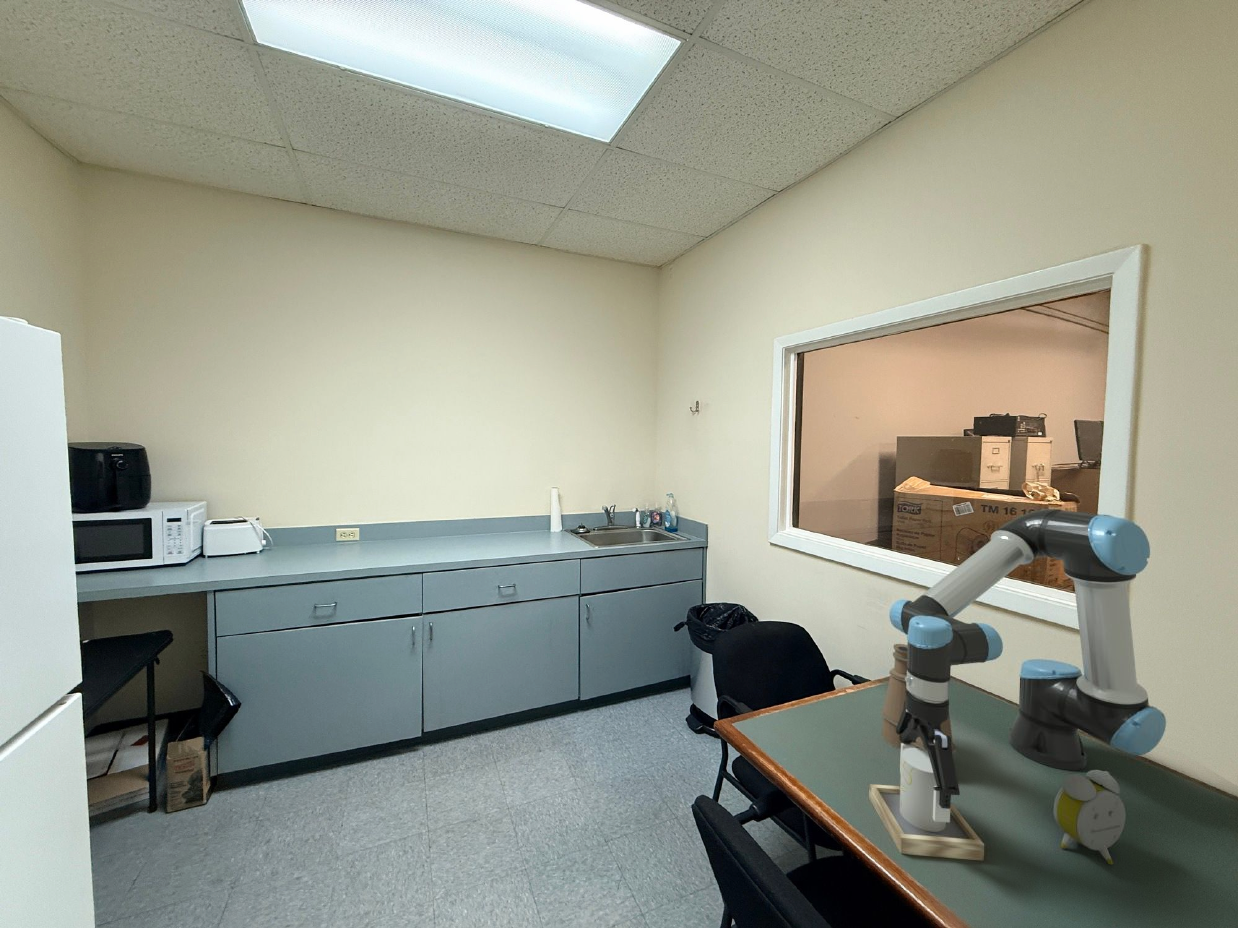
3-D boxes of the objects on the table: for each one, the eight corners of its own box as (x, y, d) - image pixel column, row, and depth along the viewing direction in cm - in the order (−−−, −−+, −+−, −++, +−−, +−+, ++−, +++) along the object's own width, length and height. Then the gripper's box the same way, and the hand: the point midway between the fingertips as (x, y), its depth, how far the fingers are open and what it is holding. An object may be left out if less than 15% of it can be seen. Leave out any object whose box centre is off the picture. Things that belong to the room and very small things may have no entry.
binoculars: (964, 778, 118) (969, 674, 117) (925, 780, 117) (929, 676, 116) (906, 727, 138) (909, 639, 137) (872, 729, 137) (875, 640, 136)
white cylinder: (902, 796, 108) (903, 742, 108) (946, 812, 104) (948, 756, 103) (897, 819, 102) (898, 762, 101) (944, 838, 97) (946, 778, 96)
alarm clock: (1093, 832, 102) (1098, 761, 101) (1135, 860, 95) (1139, 784, 94) (1049, 842, 99) (1053, 769, 98) (1089, 871, 92) (1093, 793, 92)
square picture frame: (940, 803, 109) (940, 789, 109) (983, 860, 95) (984, 844, 94) (869, 797, 111) (869, 783, 111) (900, 853, 96) (901, 837, 96)
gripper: (881, 665, 114) (878, 755, 115) (941, 728, 89) (936, 842, 90) (915, 667, 113) (912, 758, 114) (985, 731, 89) (980, 845, 90)
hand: (923, 795), depth 102 cm, fingers open, 13 cm apart
